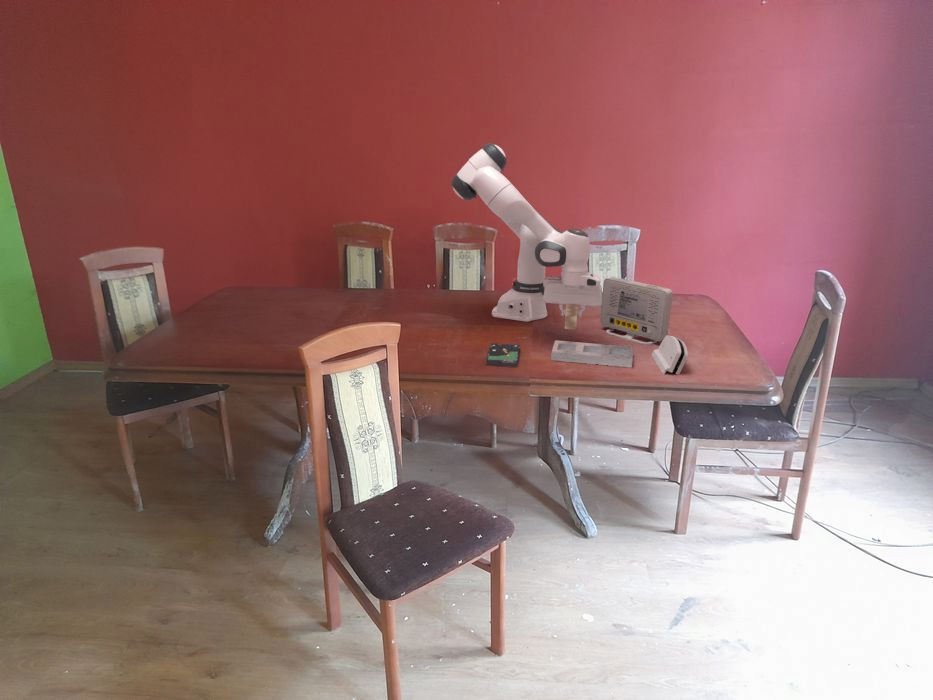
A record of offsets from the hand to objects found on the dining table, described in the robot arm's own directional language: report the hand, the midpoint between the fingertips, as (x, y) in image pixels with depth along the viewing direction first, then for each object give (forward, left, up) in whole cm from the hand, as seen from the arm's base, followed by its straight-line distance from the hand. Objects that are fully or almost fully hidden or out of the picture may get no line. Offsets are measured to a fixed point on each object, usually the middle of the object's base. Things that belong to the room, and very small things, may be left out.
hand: (571, 316), depth 209 cm
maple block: (0, 0, -4) cm, 4 cm away
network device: (+21, +12, -11) cm, 27 cm away
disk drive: (-20, -18, -11) cm, 30 cm away
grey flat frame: (+8, -12, -10) cm, 18 cm away
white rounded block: (+33, -11, -11) cm, 37 cm away
